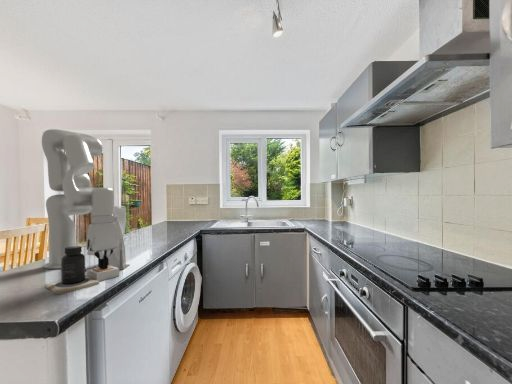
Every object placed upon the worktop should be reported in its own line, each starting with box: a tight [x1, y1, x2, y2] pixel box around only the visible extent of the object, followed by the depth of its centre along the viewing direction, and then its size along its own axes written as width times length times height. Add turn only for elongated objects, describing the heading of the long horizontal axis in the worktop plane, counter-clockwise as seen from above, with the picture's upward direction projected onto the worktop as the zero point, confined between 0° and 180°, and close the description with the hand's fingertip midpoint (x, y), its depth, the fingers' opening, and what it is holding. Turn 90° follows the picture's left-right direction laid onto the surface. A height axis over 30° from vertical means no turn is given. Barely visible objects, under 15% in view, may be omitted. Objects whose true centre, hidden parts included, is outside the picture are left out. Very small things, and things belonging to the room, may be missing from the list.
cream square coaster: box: [44, 275, 100, 295], centre depth 91 cm, size 12×12×1 cm
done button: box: [92, 266, 113, 272], centre depth 100 cm, size 5×5×2 cm
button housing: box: [86, 265, 120, 282], centre depth 100 cm, size 8×8×3 cm
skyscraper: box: [108, 205, 130, 271], centre depth 113 cm, size 8×8×28 cm
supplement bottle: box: [60, 245, 86, 285], centre depth 92 cm, size 7×7×12 cm
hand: (103, 268), depth 100 cm, fingers closed
